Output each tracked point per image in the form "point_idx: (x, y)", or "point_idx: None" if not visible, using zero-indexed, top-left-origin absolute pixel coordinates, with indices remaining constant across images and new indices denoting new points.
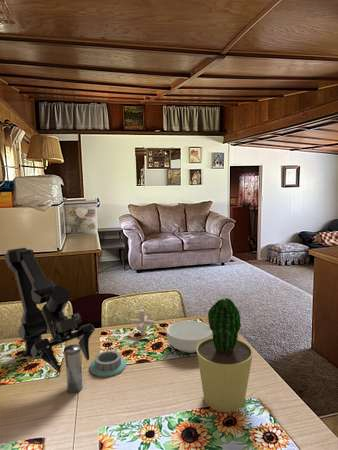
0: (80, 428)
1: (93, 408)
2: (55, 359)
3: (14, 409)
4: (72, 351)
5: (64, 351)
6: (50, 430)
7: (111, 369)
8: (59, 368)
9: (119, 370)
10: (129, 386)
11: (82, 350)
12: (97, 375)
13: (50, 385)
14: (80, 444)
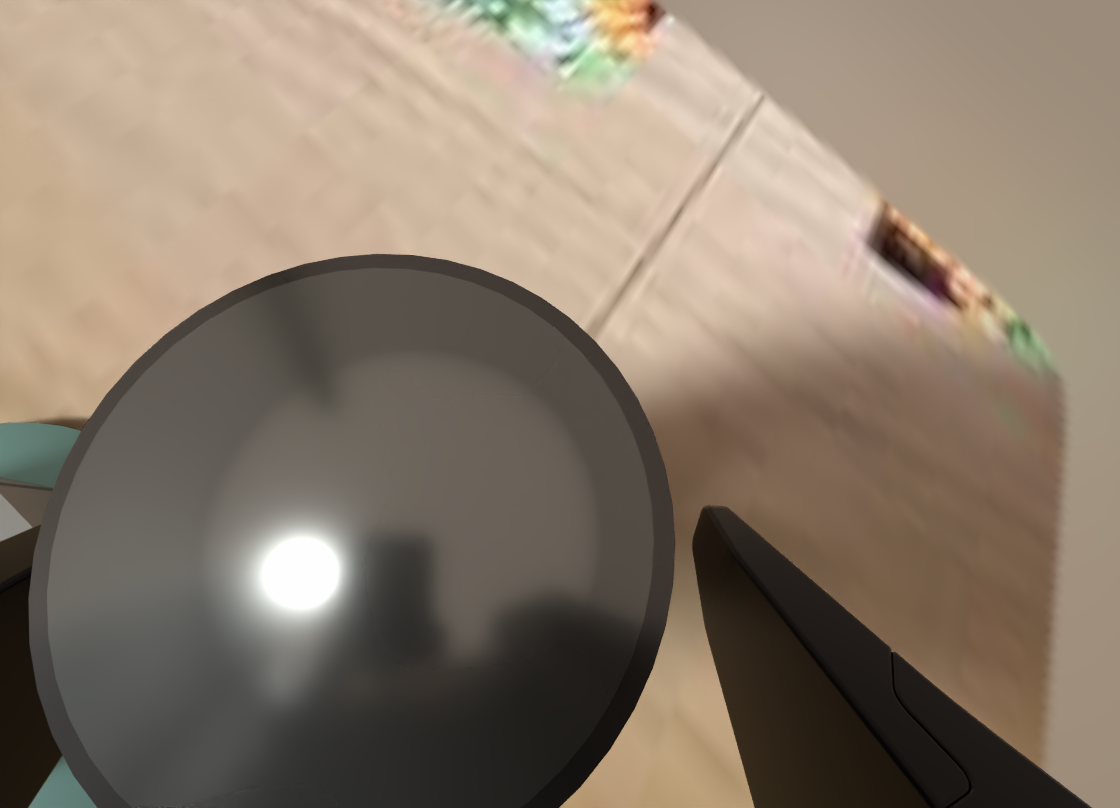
0: (680, 157)
1: (525, 232)
2: (832, 658)
3: (975, 676)
4: (510, 316)
5: (666, 581)
6: (823, 269)
7: (51, 487)
8: (723, 525)
9: (16, 429)
10: (172, 222)
11: (30, 770)
12: None
13: (618, 792)
14: (734, 76)
